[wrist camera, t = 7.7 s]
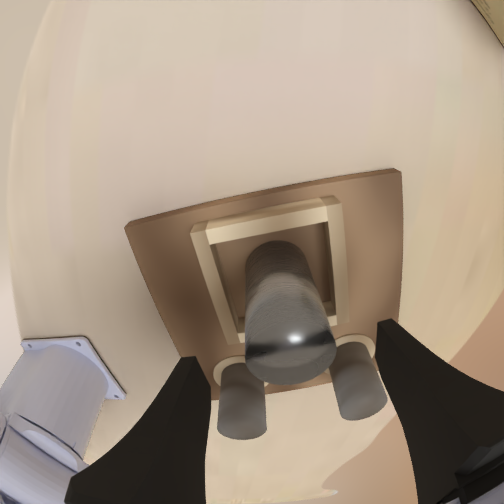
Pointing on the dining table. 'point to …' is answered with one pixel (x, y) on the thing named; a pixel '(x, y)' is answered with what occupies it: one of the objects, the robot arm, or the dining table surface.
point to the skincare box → (493, 15)
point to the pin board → (321, 266)
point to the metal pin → (284, 317)
